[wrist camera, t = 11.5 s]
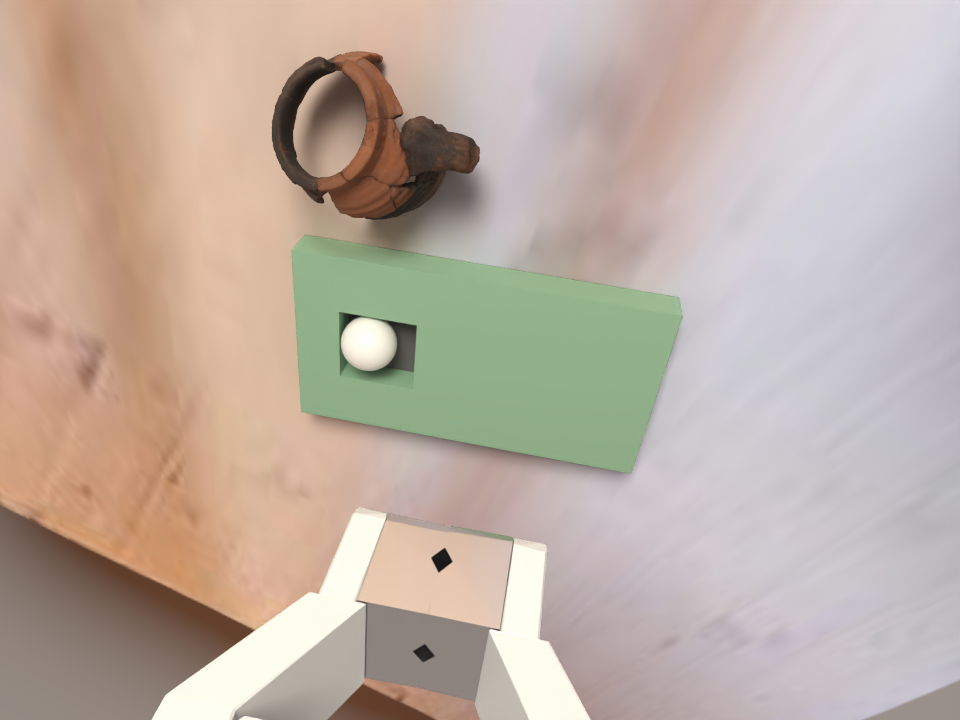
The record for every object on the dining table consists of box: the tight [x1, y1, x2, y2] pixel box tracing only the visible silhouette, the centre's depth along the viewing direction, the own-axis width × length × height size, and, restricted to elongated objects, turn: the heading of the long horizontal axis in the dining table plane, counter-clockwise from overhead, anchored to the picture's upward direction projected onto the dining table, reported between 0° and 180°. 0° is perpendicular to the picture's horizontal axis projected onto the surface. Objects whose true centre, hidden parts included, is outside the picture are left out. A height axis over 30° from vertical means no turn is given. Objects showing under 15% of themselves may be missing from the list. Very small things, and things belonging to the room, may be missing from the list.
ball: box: [341, 316, 397, 371], centre depth 48 cm, size 4×4×4 cm
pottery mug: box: [272, 52, 480, 220], centre depth 39 cm, size 12×10×8 cm
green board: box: [291, 235, 682, 473], centre depth 48 cm, size 26×14×2 cm, turn 84°
